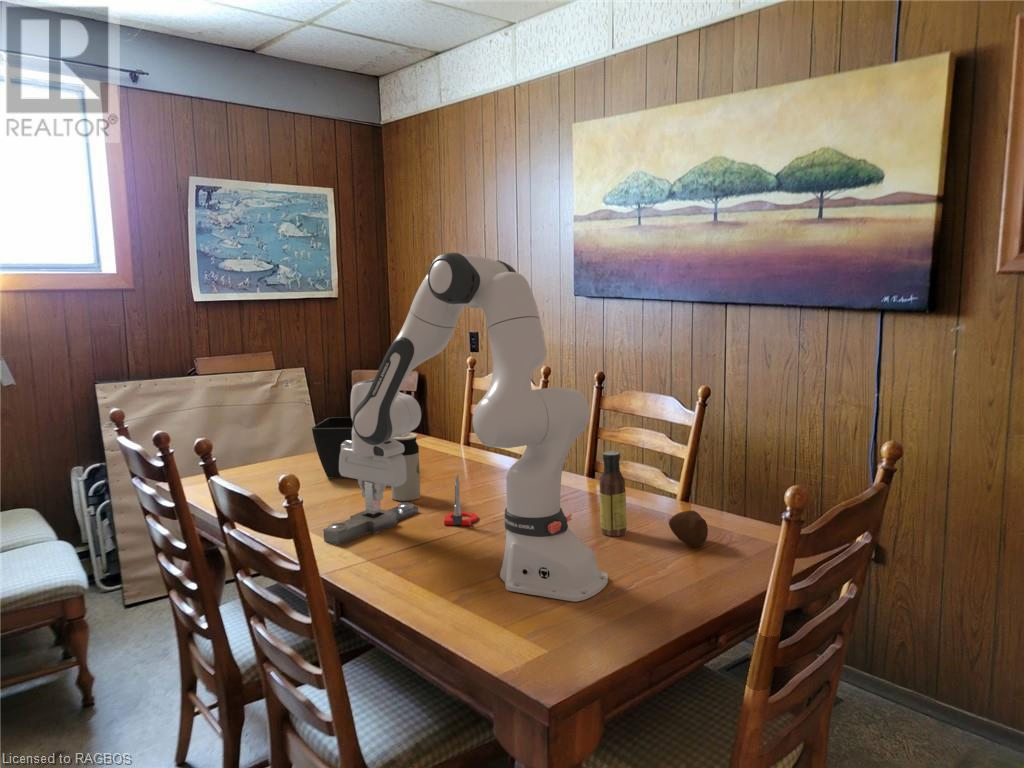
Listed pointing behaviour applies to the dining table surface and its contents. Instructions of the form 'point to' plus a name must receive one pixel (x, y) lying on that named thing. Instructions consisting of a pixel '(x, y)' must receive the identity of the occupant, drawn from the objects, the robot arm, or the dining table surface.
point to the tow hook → (459, 511)
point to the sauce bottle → (612, 496)
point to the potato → (689, 527)
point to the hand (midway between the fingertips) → (372, 498)
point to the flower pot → (332, 442)
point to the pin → (371, 498)
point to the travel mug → (409, 469)
